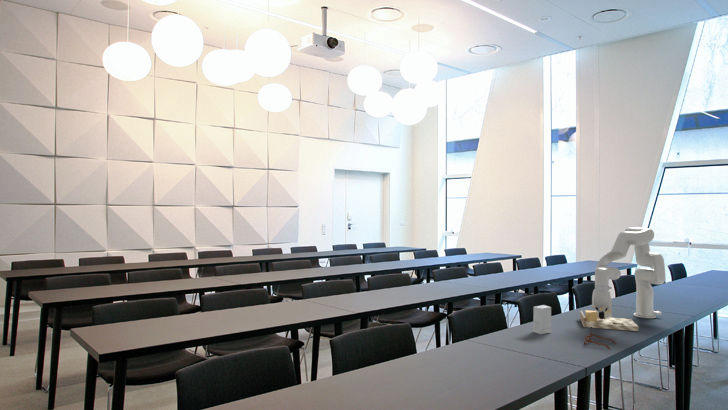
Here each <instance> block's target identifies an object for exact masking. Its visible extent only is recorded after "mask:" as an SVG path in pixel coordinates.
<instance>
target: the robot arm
mask: <svg viewBox="0 0 728 410" xmlns="http://www.w3.org/2000/svg"><path fill="white" fill-rule="evenodd" d="M654 238H655V232H654V230H653V229H651V228H649V227H635V226H632V227H631V226H630V227H626V228H625V229H624V231H621V232H619V233H618V235H617V237H616V239H615V241H614V244H613V246H612V248H611V250H610V251H609V252H607V253H606V254H604V255H603V256H601V257H600V258H599V260H598V262H597V264H596V267H595V270H594V289H593V291H592V296H591V308H592V309H594V310H595V311H596V310H597V311H598V312H599V317H600V319H603V318H604V313H605V311H607V310H611V298H612V297H611V291H610V290H612V287H611V286H610V285H609V284H610V283H609V281H610V280H612V281H615V280H618V279H620V277H621V274H622V273H621V270H620V269H619V268H617V267H613V266H608V265H609V264H610V263H613V262H615V261H618V260H621V259H624V258H626V256H627V253H628V252H629V249H630V246H633V247H634V256H635V262H636V264H637V265H638V266H640V267H639V268H636V269H635V271H634V278H635V285H636V287H635V289H636V291H635V292H636V295H635V298H636V299H635V301H636V303H635V305H636V306H635V307H636V308H635V310H636V311H635V312H634V313H633V316H634V317H637V318H642V319H655V318H657V316H656V315H658V316H661V315H662V311H658V310H657V311H655V310H654V289H653V288H654V287H653V286H652V285H662V284H664V283H665V281H666V268H665V267H666V266H665V265H666V264H665V259H664V256H663V255H662V254H661V253H659V252H652V251H651V248H650V244H649V243H650V242H653V240H654ZM600 307H603V309H602V312H601V310H600Z"/></svg>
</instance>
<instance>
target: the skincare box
mask: <svg viewBox="0 0 728 410" xmlns="http://www.w3.org/2000/svg"><path fill="white" fill-rule="evenodd" d="M532 309H533V310H532V311H533V320H532V321H533V325H532V326H533V328H532V329H533V331H532V332H533V333H536V334H538V335H543V334H544V335H545V334H550V333H552V307H551V306H548V305H546V304H541V305H536V306H533V308H532Z"/></svg>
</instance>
